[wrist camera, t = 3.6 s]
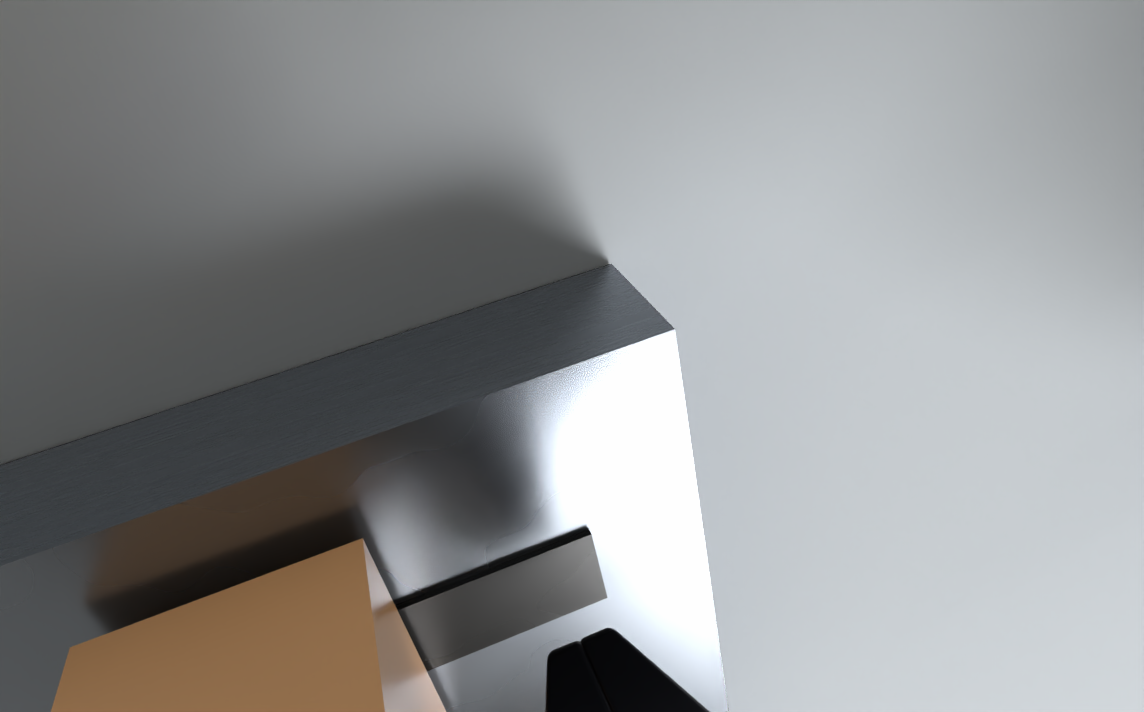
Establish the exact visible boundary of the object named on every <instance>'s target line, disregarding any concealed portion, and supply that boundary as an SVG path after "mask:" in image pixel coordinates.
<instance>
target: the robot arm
mask: <svg viewBox="0 0 1144 712" xmlns="http://www.w3.org/2000/svg"><path fill="white" fill-rule="evenodd" d="M545 712H710V711H709V710H708V709H706V708H705V707H704V706H703V705H702V704H701V703H700V702H698V701H697V700H696V699H695V698H694V697H693V696H691V695H690V694H689V693H688V692H687V691H686V690H685V689H683V688H682V687H681V686H680V685H679V684H678V683H677V682H675V681H674V680H673V679H672V678H671V677H670V676H669V675H667V674H666V673H665V672H664V671H663V670H662V669H661V668H659V667H658V666H657V665H656V664H655V663H654V662H653V661H651V660H650V659H649V658H648V657H647V656H646V655H644V654H643V653H642V652H641V651H640V650H639V649H638V648H636V647H635V646H634V645H633V644H632V643H631V642H630V641H628V640H627V639H626V638H625V637H624V636H623V635H622V634H620V633H619V632H618V631H617V630H615V629H613V628H605V629H603V630H600V631H598V632H595V633H593V634H591V635H588V636H586V637H584V638H582V639H581V641H574V642H572V643H569V644H567V645H564V646H562V647H560V648H557V649H555V650H552V651H551V652H550V653H549V654H548V657H547V671H546V700H545Z"/></svg>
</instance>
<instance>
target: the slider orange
mask: <svg viewBox="0 0 1144 712" xmlns="http://www.w3.org/2000/svg"><path fill="white" fill-rule="evenodd" d="M51 712H446V710H445V708H444V706H443V704H442V702H441V699H440V697H439V695H438V693H437V691H436V689H435V687H434V685H433V683H432V681H431V679H430V677H429V675H428V673H427V670H426V668H425V666H424V664H423V662H422V660H421V658H420V656H419V654H418V652H417V650H416V648H415V646H414V644H413V642H412V639H411V637H410V635H409V633H408V631H407V629H406V627H405V625H404V623H403V621H402V619H401V617H400V615H399V613H398V610H397V608H396V606H395V604H394V602H393V600H392V598H391V596H390V594H389V592H388V590H387V588H386V586H385V584H384V581H383V579H382V577H381V575H380V573H379V571H378V569H377V567H376V565H375V563H374V561H373V559H372V557H371V555H370V553H369V550H368V548H367V546H366V544H365V542H364V540H363V538H362V539H359V540H356V541H354V542H351V543H348V544H346V545H343V546H340V547H338V548H335V549H332V550H329V551H327V552H324V553H321V554H319V555H316V556H313V557H311V558H308V559H305V560H303V561H300V562H297V563H295V564H292V565H289V566H287V567H284V568H281V569H279V570H276V571H273V572H271V573H268V574H265V575H263V576H260V577H257V578H254V579H252V580H249V581H246V582H244V583H241V584H238V585H236V586H233V587H230V588H228V589H225V590H222V591H220V592H217V593H214V594H212V595H209V596H206V597H204V598H201V599H198V600H196V601H193V602H190V603H188V604H185V605H182V606H179V607H177V608H174V609H171V610H169V611H166V612H163V613H161V614H158V615H155V616H153V617H150V618H147V619H145V620H142V621H139V622H137V623H134V624H131V625H129V626H126V627H123V628H121V629H118V630H115V631H113V632H110V633H107V634H104V635H102V636H99V637H96V638H94V639H91V640H88V641H86V642H83V643H80V644H78V645H75V646H72V647H70V649H69V652H68V655H67V659H66V662H65V666H64V669H63V672H62V676H61V679H60V682H59V686H58V689H57V693H56V696H55V699H54V703H53V706H52V709H51Z"/></svg>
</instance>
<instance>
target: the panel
mask: <svg viewBox="0 0 1144 712" xmlns="http://www.w3.org/2000/svg"><path fill="white" fill-rule="evenodd" d="M362 538H363V540H364V542H365V544H366V546H367V548H368V550H369V553H370V555H371V557H372V559H373V561H374V563H375V565H376V567H377V569H378V571H379V573H380V575H381V577H382V579H383V581H384V584H385V586H386V588H387V590H388V592H389V594H390V596H391V598H392V600H393V602H394V604H395V606H396V608H397V610H398V613H399V615H400V617H401V619H402V621H403V623H404V625H405V627H406V629H407V631H408V633H409V635H410V637H411V639H412V642H413V644H414V646H415V648H416V650H417V652H418V654H419V656H420V658H421V660H422V662H423V664H424V666H425V668H426V670H427V673H428V675H429V677H430V679H431V681H432V683H433V685H434V687H435V689H436V691H437V693H438V695H439V697H440V699H441V702H442V704H443V706H444V708H445V710H446V712H545V700H546V671H547V657H548V654H549V653H550V652H551V651H552V650H555V649H557V648H560V647H562V646H564V645H567V644H569V643H572V642H574V641H581V639H582V638H584V637H586V636H588V635H591V634H593V633H595V632H598V631H600V630H603V629H605V628H613V629H615V630H617V631H618V632H619V633H620V634H622V635H623V636H624V637H625V638H626V639H627V640H628V641H630V642H631V643H632V644H633V645H634V646H635V647H636V648H638V649H639V650H640V651H641V652H642V653H643V654H644V655H646V656H647V657H648V658H649V659H650V660H651V661H653V662H654V663H655V664H656V665H657V666H658V667H659V668H661V669H662V670H663V671H664V672H665V673H666V674H667V675H669V676H670V677H671V678H672V679H673V680H674V681H675V682H677V683H678V684H679V685H680V686H681V687H682V688H683V689H685V690H686V691H687V692H688V693H689V694H690V695H691V696H693V697H694V698H695V699H696V700H697V701H698V702H700V703H701V704H702V705H703V706H704V707H705V708H706V709H708V710H709V711H710V712H729V708H728V701H727V694H726V687H725V680H724V673H723V666H722V659H721V652H720V645H719V638H718V631H717V623H716V616H715V609H714V602H713V595H712V588H711V581H710V574H709V567H708V560H707V553H706V546H705V538H704V531H703V524H702V517H701V510H700V503H699V496H698V489H697V482H696V475H695V468H694V461H693V453H692V446H691V439H690V432H689V425H688V418H687V411H686V404H685V397H684V390H683V383H682V376H681V368H680V361H679V354H678V347H677V340H676V333H675V329H674V328H673V327H672V326H671V325H670V324H669V323H668V322H667V321H666V319H665V318H664V317H663V316H662V315H661V314H660V313H659V312H658V311H657V310H656V309H655V308H654V307H653V306H652V305H651V304H650V303H649V302H648V301H647V300H646V299H645V298H644V297H643V296H642V295H641V294H640V293H639V292H638V291H637V290H636V289H635V288H634V287H633V285H632V284H631V283H630V282H629V281H628V280H627V279H626V278H625V277H624V276H623V275H622V274H621V273H620V272H619V271H618V270H617V269H616V268H615V267H614V266H613V265H612V264H609V265H606V266H603V267H600V268H597V269H594V270H591V271H588V272H585V273H582V274H579V275H576V276H573V277H570V278H567V279H564V280H561V281H558V282H555V283H552V284H549V285H546V286H543V287H540V288H537V289H534V290H531V291H527V292H524V293H521V294H518V295H515V296H512V297H509V298H506V299H503V300H500V301H497V302H494V303H491V304H488V305H485V306H482V307H479V308H476V309H473V310H470V311H467V312H464V313H461V314H458V315H455V316H452V317H449V318H446V319H443V320H440V321H437V322H434V323H431V324H428V325H424V326H421V327H418V328H415V329H412V330H409V331H406V332H403V333H400V334H397V335H394V336H391V337H388V338H385V339H382V340H379V341H376V342H373V343H370V344H367V345H364V346H361V347H358V348H355V349H352V350H349V351H346V352H343V353H340V354H337V355H334V356H331V357H328V358H325V359H321V360H318V361H315V362H312V363H309V364H306V365H303V366H300V367H297V368H294V369H291V370H288V371H285V372H282V373H279V374H276V375H273V376H270V377H267V378H264V379H261V380H258V381H255V382H252V383H249V384H246V385H243V386H240V387H237V388H234V389H231V390H228V391H225V392H222V393H218V394H215V395H212V396H209V397H206V398H203V399H200V400H197V401H194V402H191V403H188V404H185V405H182V406H179V407H176V408H173V409H170V410H167V411H164V412H161V413H158V414H155V415H152V416H149V417H146V418H143V419H140V420H137V421H134V422H131V423H128V424H125V425H122V426H119V427H115V428H112V429H109V430H106V431H103V432H100V433H97V434H94V435H91V436H88V437H85V438H82V439H79V440H76V441H73V442H70V443H67V444H64V445H61V446H58V447H55V448H52V449H49V450H46V451H43V452H40V453H37V454H34V455H31V456H28V457H25V458H22V459H19V460H16V461H12V462H9V463H6V464H3V465H0V712H51V709H52V706H53V703H54V699H55V696H56V693H57V689H58V686H59V682H60V679H61V676H62V672H63V669H64V666H65V662H66V659H67V655H68V652H69V649H70V647H72V646H75V645H78V644H80V643H83V642H86V641H88V640H91V639H94V638H96V637H99V636H102V635H104V634H107V633H110V632H113V631H115V630H118V629H121V628H123V627H126V626H129V625H131V624H134V623H137V622H139V621H142V620H145V619H147V618H150V617H153V616H155V615H158V614H161V613H163V612H166V611H169V610H171V609H174V608H177V607H179V606H182V605H185V604H188V603H190V602H193V601H196V600H198V599H201V598H204V597H206V596H209V595H212V594H214V593H217V592H220V591H222V590H225V589H228V588H230V587H233V586H236V585H238V584H241V583H244V582H246V581H249V580H252V579H254V578H257V577H260V576H263V575H265V574H268V573H271V572H273V571H276V570H279V569H281V568H284V567H287V566H289V565H292V564H295V563H297V562H300V561H303V560H305V559H308V558H311V557H313V556H316V555H319V554H321V553H324V552H327V551H329V550H332V549H335V548H338V547H340V546H343V545H346V544H348V543H351V542H354V541H356V540H359V539H362Z"/></svg>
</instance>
